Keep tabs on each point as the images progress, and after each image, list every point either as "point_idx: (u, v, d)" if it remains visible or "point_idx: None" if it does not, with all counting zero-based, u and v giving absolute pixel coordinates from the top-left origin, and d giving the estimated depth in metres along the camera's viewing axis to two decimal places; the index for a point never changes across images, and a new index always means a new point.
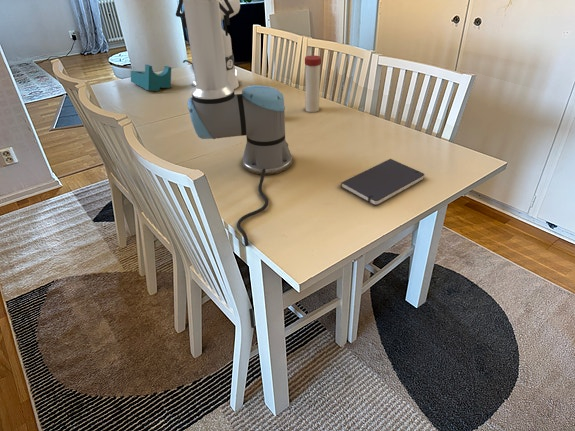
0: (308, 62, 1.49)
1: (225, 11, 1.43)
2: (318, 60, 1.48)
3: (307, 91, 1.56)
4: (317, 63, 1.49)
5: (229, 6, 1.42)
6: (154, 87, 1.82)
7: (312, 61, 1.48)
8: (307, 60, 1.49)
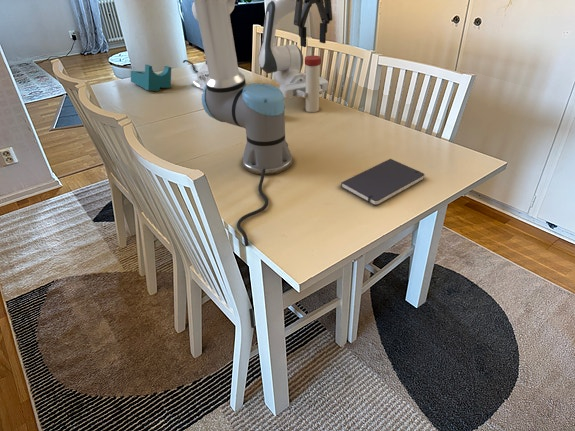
0: (308, 62, 1.49)
1: None
2: (318, 60, 1.48)
3: (307, 91, 1.56)
4: (317, 63, 1.49)
5: None
6: (154, 87, 1.82)
7: (312, 61, 1.48)
8: (307, 60, 1.49)
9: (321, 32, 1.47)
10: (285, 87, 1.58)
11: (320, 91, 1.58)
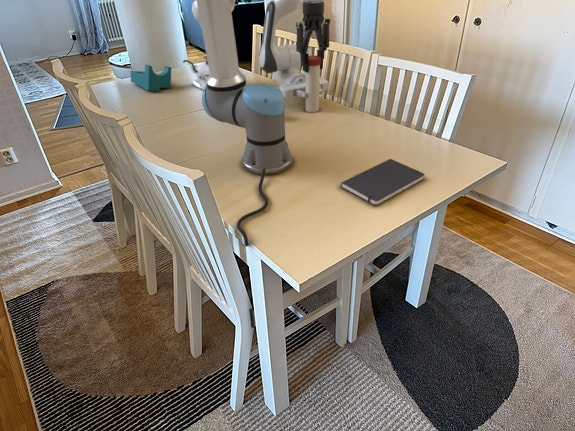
0: None
1: None
2: (318, 60, 1.48)
3: (307, 91, 1.56)
4: (317, 63, 1.49)
5: None
6: (154, 87, 1.82)
7: (312, 61, 1.48)
8: None
9: None
10: (285, 87, 1.58)
11: (320, 91, 1.58)
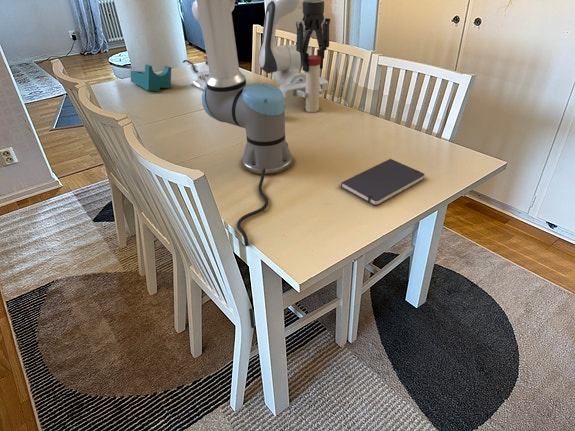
0: (319, 61, 1.49)
1: None
2: None
3: (307, 91, 1.56)
4: None
5: None
6: (154, 87, 1.82)
7: None
8: (319, 59, 1.49)
9: None
10: (285, 87, 1.58)
11: (320, 91, 1.58)
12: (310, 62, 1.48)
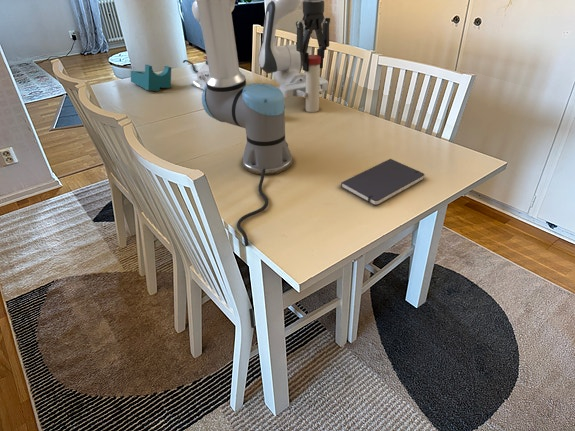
0: None
1: None
2: None
3: (307, 91, 1.56)
4: None
5: None
6: (154, 87, 1.82)
7: None
8: None
9: None
10: (285, 87, 1.58)
11: (320, 91, 1.58)
12: (320, 60, 1.50)
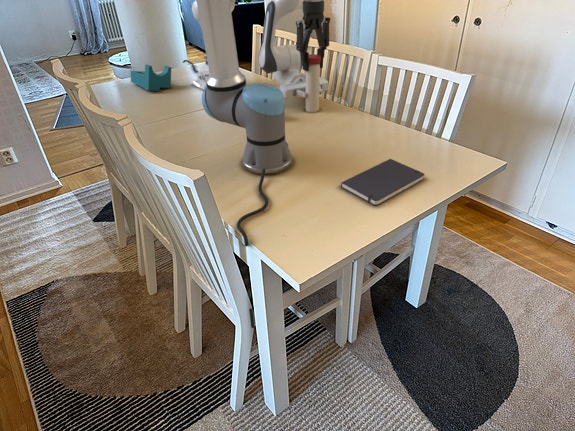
0: None
1: None
2: (309, 59, 1.48)
3: (307, 91, 1.56)
4: None
5: None
6: (154, 87, 1.82)
7: None
8: None
9: None
10: (285, 87, 1.58)
11: (320, 91, 1.58)
12: None
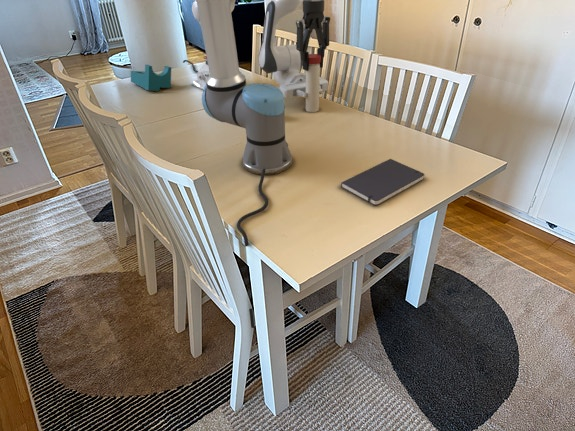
0: (311, 61, 1.48)
1: None
2: (320, 58, 1.49)
3: (307, 91, 1.56)
4: (319, 61, 1.49)
5: None
6: (154, 87, 1.82)
7: (315, 60, 1.48)
8: (310, 59, 1.48)
9: None
10: (285, 87, 1.58)
11: (320, 91, 1.58)
12: None
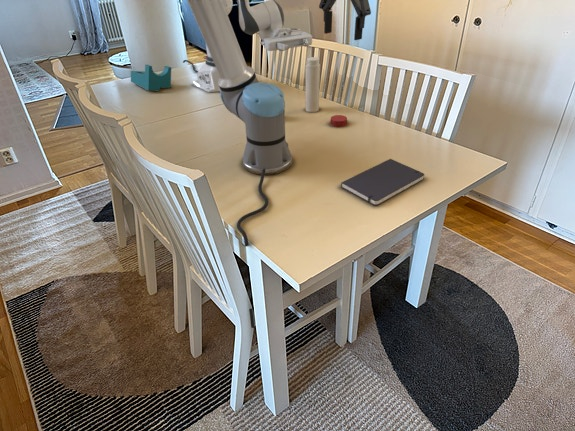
0: (346, 121, 1.49)
1: (358, 12, 1.22)
2: None
3: (307, 91, 1.56)
4: None
5: (362, 7, 1.20)
6: (154, 87, 1.82)
7: None
8: (346, 119, 1.48)
9: (328, 21, 1.34)
10: (269, 40, 1.59)
11: (306, 43, 1.60)
12: (339, 124, 1.47)
